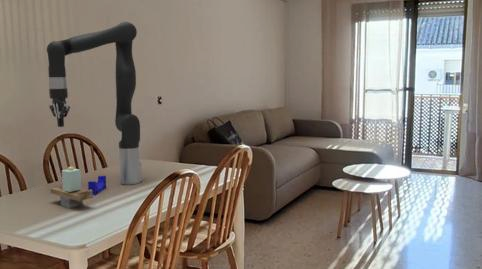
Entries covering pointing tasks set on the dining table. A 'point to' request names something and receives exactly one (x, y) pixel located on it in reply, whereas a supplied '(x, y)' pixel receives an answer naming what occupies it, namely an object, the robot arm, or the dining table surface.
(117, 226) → the dining table surface
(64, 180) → the block
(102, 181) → the cable clip
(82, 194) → the beam
